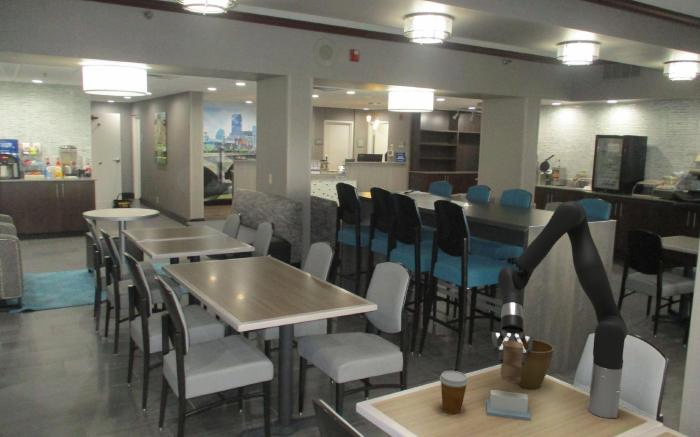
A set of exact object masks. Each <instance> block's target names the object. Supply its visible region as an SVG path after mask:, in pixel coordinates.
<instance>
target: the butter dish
mask: <svg viewBox="0 0 700 437" xmlns="http://www.w3.org/2000/svg"><path fill="white" fill-rule="evenodd" d="M489 394H490V395H489V398H486V401H485V403H486V404H485V405H486V415H487V416H492V417H500V418H506V419H515V420H522V421H531V419H532V417H531V413H530V407H529V404H528V403H529V396H528V395H527V393H520V392H511V391H504V390H498V389H497V390H496V389H490V393H489Z"/></svg>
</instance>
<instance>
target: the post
mask: <svg viewBox="0 0 700 437" xmlns="http://www.w3.org/2000/svg"><path fill="white" fill-rule="evenodd" d="M503 341H504V340H502V342H503ZM522 357H523V345H522V343H519V342H517V341H504V344H503V363H501V362H500V364H501V365H500V378H501V379H500V380H501V381H506V382H514V383H519V382H520V379H521V368H522Z"/></svg>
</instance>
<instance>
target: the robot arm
mask: <svg viewBox="0 0 700 437" xmlns="http://www.w3.org/2000/svg"><path fill="white" fill-rule="evenodd" d="M565 234H567V237H568V239H569V243H570V245H571V246H570V247H571V254H572V255H571V256H572V263H573V267H574V271H575V274H576V276H577V279H578V283H579V285H580V287H581V288H582V290H583V292H584V293H585V295H586V296H587V298H588V299H589V301H590V302H591V304H592V307H593V309H594V312H595V315H596V316H595V317H596V320H597V326H596V328H595V330H594V337H593V348H592V357H593V359H592V367H591V368H592V370H591V378H590V388H589V389H590V390H589V397H588V407H587V408H588V411H589V412H590V413H592V414H593V415H595V416H598V417H601V418H605V419H613V418H614V419H618V413H619V404H620V395H621V383H622V376H623V367H624V348H625V340H626V338H627V336H628V327H627V325H626V322H625V320H624V318H623V316H622V315H621V312H620V310H619V308H618V305H617V303H616V301H615V297H614V293H613V290H612V287H611V284H610V281H609V277H608V274H607V271H606V268H605V265H604V263H603V260H602V259H601V256H600V253H599V251H598V248H597V246H596V244H595V241H594V239H593V237H592V234H591V229H590V225H589V222H588V217H587V212H586V209H585V207H584V206H583V205H582V204H581V202H578V201H575V200H569V201H564V202H562V203H560V204H559V205H557V207H556V208H555V210H554V211H553V214H552V215H551V217H550V219H549V220H548V221H547V223H546V224H545V226H544V228H542V230H541V232H540V233H539V234H538V235H537V236H536V238H534V239H533V241H532V242H530V244H529V245H528V246H527V247H526V248H525V250H523V252H521V254H520V255H519V256H518V257H517V259H516V265H517V266H519V268H520V269H521V270H520V271H518V270H517V269H515V268H512V267H510V266H504V267H503V268H501V269H500V271H499V273H498V277H497V283H498V286H499V290H500V294H501V296H502V299H501V300H502V304H501V315H500V318H501V319H500V332H496V331H493V332H492V333H491V340H492V341H491V343H492V349H493V351H495V352H497V353H498V361H499V362H500V364H501V363H503V344H504V341H517V342H519V343H522V341H523V340H524V339H525V340H526V342H527V343H528V348H527V349H526V350H525V348H524V346H523V357H522V366H523V364H525V362H526V355H527V354H528V355H530V353H531V350H532V343H533V340H534V336H533V335H530V336H527V335H526V334H525V332H524V331H525V330H524V326H525V325H524V310H523V307H524V306H523V304H524V303H523V301H524V299H523V295H522V293H521V292H520V291H522V290H524V289H525V288H526V287H527V285H528V283H529V281H530V279H531V277H532V275H533V273H534V271H535V269H536V268H538V266H539V265H540V264H541V263H542V262H543V261H544V260H545V258H546V257H547V255H548V254H549V253H550V252H551V250H552V249H553V247H554V245H555V244H556V243H557V242H558V241H559V240H560V239H561V237H563V236H564V235H565ZM499 337H500V339H501V340H502V343H501V345H500V346H499V345H498V339H499ZM503 340H504V341H503ZM522 345H523V343H522Z"/></svg>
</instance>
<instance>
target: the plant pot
mask: <svg viewBox="0 0 700 437" xmlns="http://www.w3.org/2000/svg"><path fill="white" fill-rule="evenodd" d="M522 343H523V346H524V348H525V350H526V349H527V348H528V343H527V342H526V340H525V339H524V340H523V341H522ZM554 349H555V348H554V346H553V345H551V344H550V343H548V342H546V341H542V340H538V339H533V343H532V350H531V353H530V355H528V354H527V355H526V362H525V364H523V366H522V368H521V379H520V382H518V384H519V385H520V386H521V387H522V388H524V389H529V390H538V389H540V387H541V385H543V382H544V380H545V378H546V376H547V373H548V370H549V367H550V364H551V361H552V358H553V355H554V354H553V352H554Z"/></svg>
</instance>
